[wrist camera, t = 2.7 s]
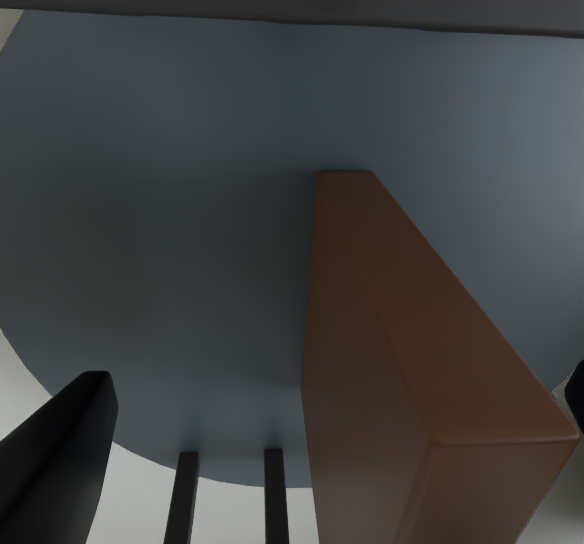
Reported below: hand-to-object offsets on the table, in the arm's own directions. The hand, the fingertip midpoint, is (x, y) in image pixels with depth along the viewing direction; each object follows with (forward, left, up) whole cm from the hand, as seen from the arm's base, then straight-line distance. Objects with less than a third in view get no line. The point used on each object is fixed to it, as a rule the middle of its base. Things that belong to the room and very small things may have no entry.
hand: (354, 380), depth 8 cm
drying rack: (+1, 0, -4) cm, 4 cm away
